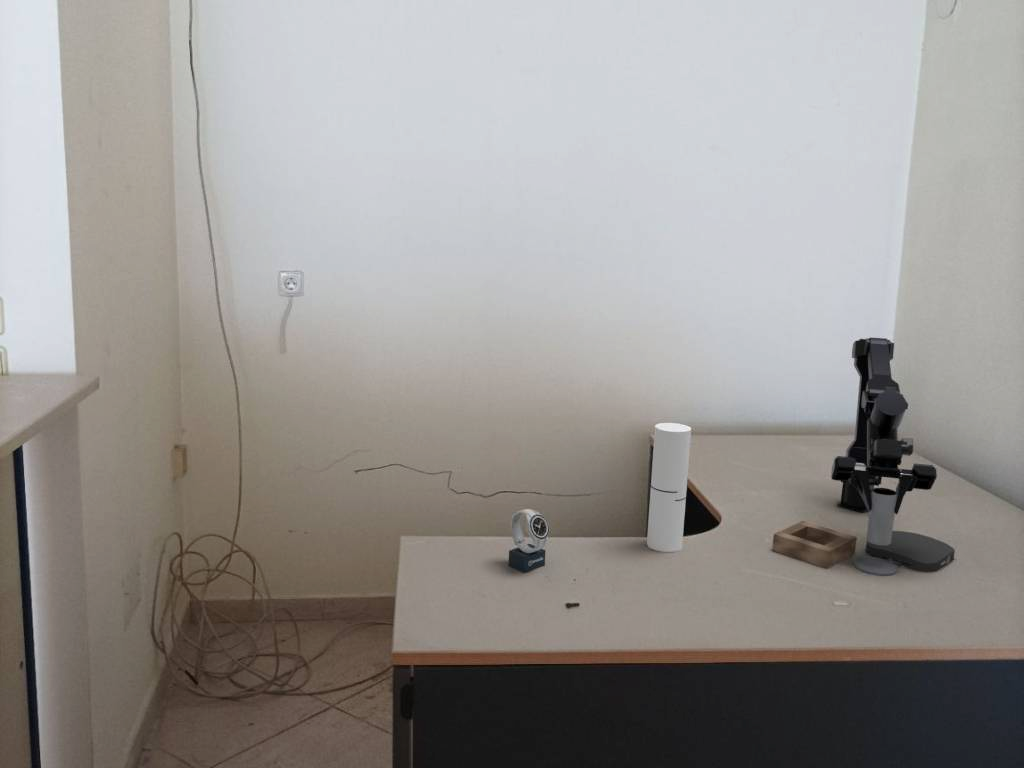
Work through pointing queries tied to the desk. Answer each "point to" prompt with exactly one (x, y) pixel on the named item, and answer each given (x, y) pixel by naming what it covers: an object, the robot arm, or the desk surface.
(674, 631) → the desk surface
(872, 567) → the mat
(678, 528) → the cylindrical container
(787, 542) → the planter holder
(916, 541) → the media streaming box
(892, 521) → the planter
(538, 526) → the watch
